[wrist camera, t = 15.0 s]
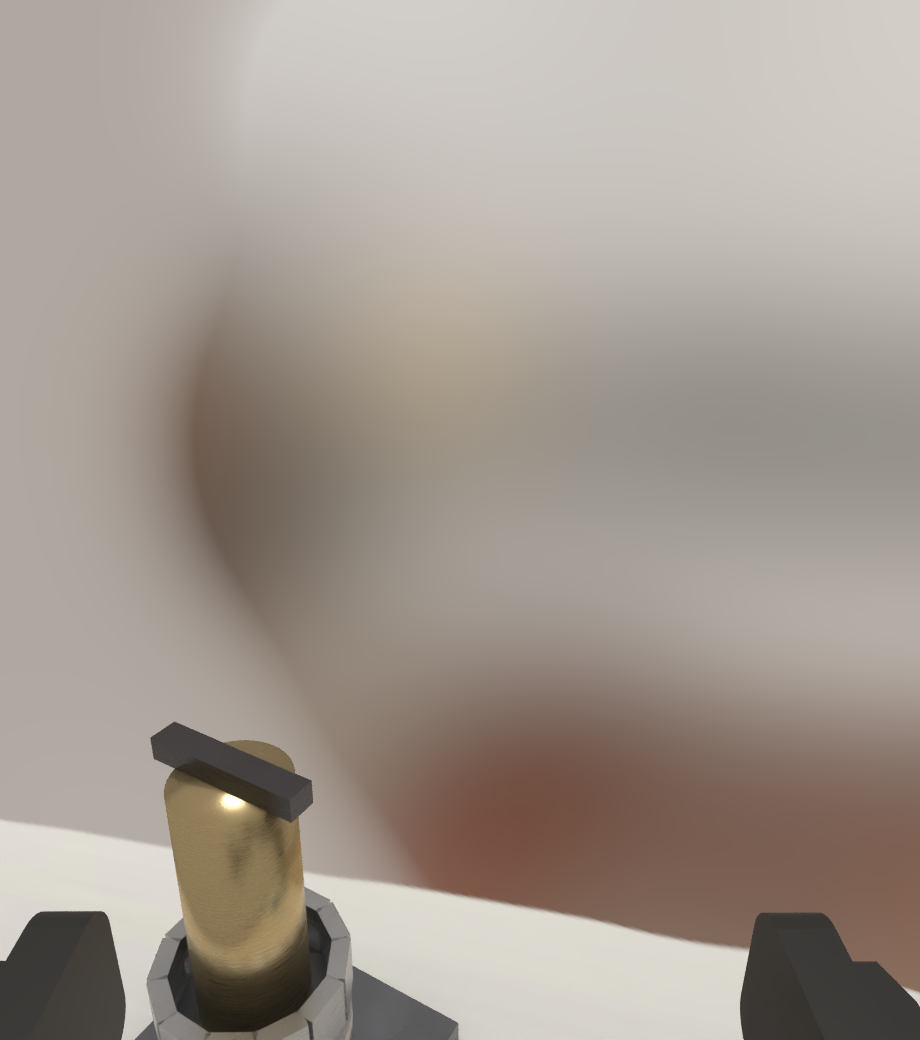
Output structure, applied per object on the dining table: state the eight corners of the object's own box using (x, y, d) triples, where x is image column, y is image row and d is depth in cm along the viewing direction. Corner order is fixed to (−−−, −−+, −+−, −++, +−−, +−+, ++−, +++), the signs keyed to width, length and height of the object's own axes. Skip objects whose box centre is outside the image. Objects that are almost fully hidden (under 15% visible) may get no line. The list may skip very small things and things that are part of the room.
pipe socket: (258, 929, 46) (244, 810, 43) (458, 1040, 40) (459, 911, 37) (52, 1147, 35) (13, 1011, 32) (281, 1340, 29) (262, 1197, 26)
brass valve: (236, 927, 39) (207, 699, 34) (354, 994, 36) (341, 753, 31) (157, 1009, 35) (111, 764, 30) (281, 1092, 32) (253, 833, 27)
